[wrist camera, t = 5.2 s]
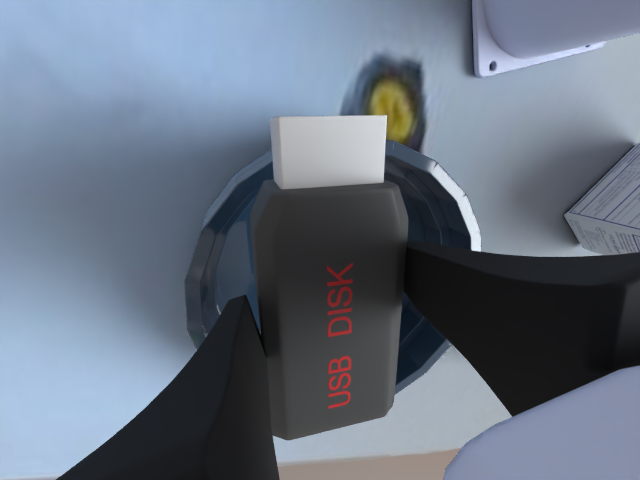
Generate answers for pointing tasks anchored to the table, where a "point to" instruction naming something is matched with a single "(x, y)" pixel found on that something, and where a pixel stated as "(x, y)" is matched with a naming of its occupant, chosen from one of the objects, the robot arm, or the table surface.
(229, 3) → the table surface
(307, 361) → the usb drive
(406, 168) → the bowl
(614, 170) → the medicine box
